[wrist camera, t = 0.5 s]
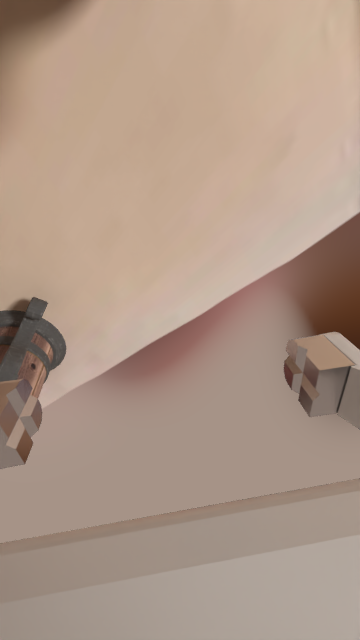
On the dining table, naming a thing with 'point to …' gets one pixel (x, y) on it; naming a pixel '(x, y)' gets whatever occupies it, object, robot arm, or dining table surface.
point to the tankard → (29, 346)
